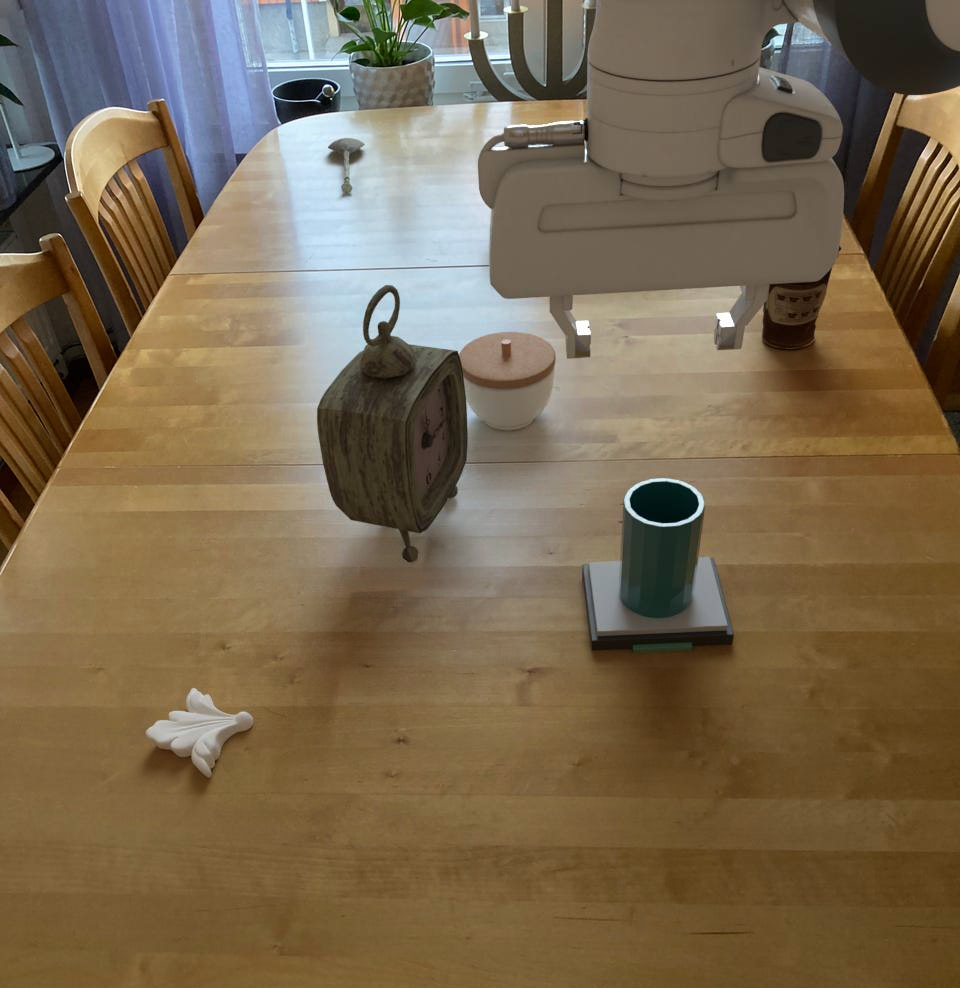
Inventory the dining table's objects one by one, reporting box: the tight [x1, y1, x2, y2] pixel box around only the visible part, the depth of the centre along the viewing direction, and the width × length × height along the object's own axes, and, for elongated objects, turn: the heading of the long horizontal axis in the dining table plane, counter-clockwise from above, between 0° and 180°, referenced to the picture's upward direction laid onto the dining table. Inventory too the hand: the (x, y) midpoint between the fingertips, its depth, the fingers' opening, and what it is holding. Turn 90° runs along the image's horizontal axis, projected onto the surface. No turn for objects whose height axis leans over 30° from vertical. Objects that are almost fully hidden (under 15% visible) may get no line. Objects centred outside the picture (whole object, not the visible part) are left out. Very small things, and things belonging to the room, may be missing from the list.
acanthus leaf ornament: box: [145, 687, 254, 779], centre depth 83 cm, size 8×7×2 cm
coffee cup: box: [761, 245, 842, 350], centre depth 119 cm, size 9×8×13 cm
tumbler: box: [619, 477, 706, 618], centre depth 84 cm, size 6×6×10 cm
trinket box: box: [458, 331, 557, 432], centre depth 112 cm, size 11×11×9 cm
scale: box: [581, 556, 735, 654], centre depth 89 cm, size 12×10×4 cm
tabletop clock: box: [316, 284, 469, 563], centre depth 94 cm, size 14×9×25 cm, turn 160°
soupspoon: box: [327, 137, 365, 194], centre depth 172 cm, size 22×3×7 cm
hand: (652, 349), depth 63 cm, fingers open, 8 cm apart
